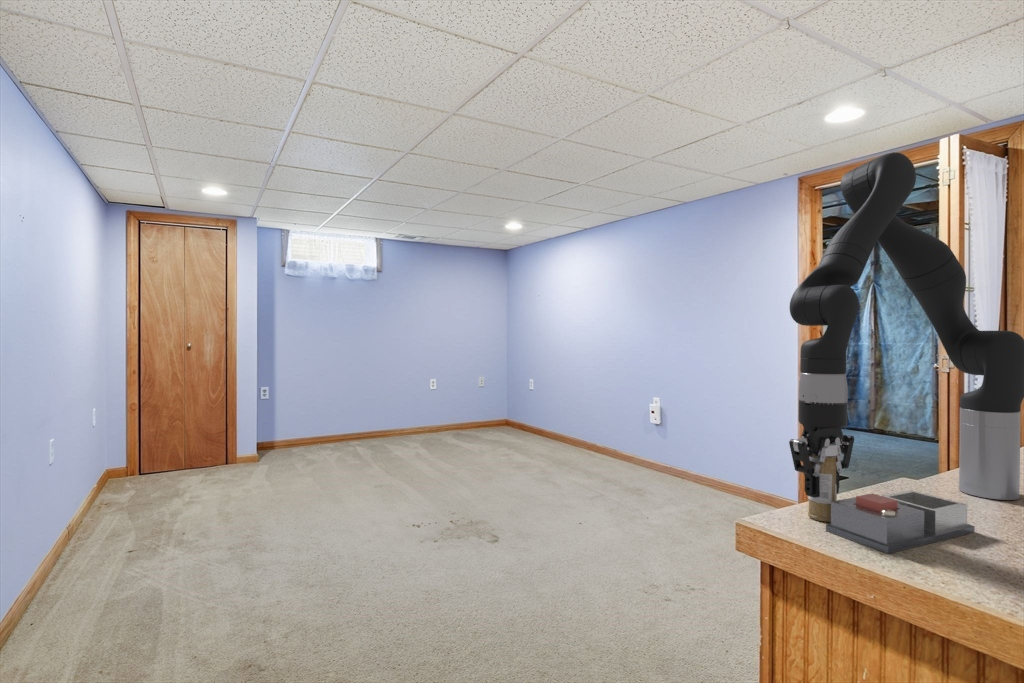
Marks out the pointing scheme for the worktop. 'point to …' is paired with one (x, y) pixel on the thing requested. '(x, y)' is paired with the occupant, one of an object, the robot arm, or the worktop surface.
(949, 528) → the grey push button box
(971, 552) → the worktop surface
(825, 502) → the sprinkles bottle
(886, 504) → the button
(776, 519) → the worktop surface
